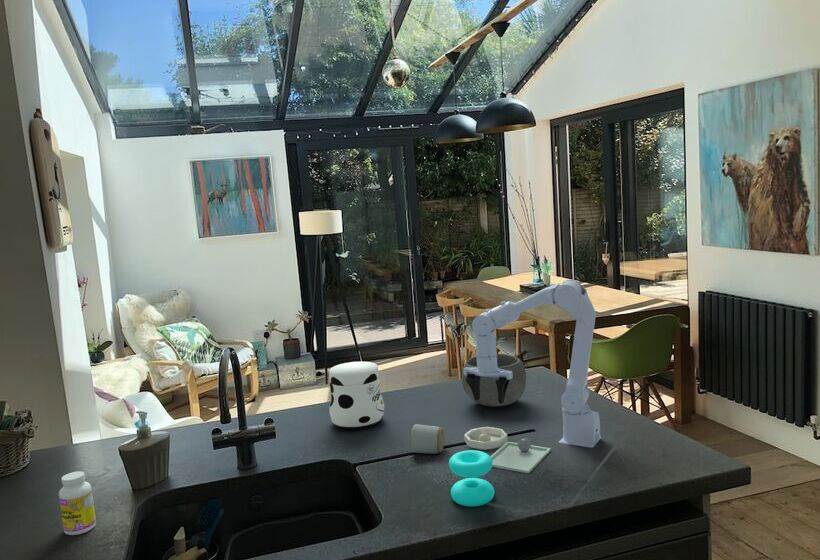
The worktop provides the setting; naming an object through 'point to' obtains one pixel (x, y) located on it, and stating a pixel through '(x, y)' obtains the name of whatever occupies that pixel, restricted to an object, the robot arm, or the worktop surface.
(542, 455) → the parts tray
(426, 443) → the ceramic mug
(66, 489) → the supplement bottle
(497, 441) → the stoneware bowl
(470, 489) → the donuts
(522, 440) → the pebble slate
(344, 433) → the worktop surface
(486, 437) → the beige round ball
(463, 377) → the bowl
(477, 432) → the pebble grey
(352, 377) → the milk container
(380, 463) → the worktop surface
